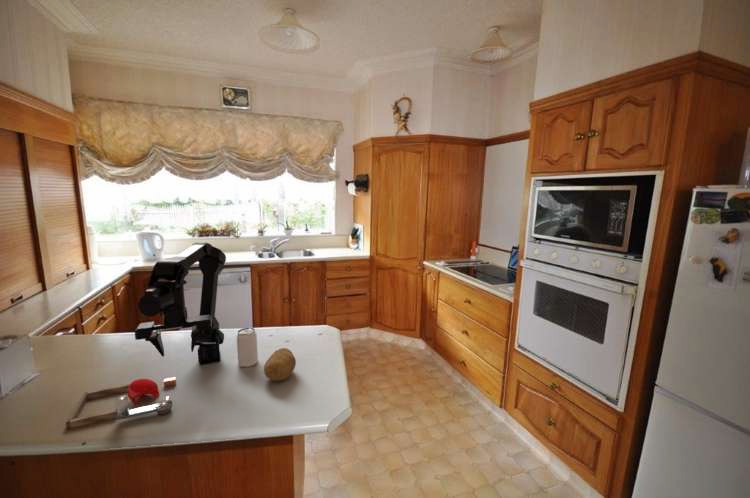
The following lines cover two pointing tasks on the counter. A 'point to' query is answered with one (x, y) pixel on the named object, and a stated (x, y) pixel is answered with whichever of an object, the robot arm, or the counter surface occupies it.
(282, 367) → the potato
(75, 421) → the bay
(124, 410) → the crank
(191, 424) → the counter surface
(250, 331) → the can
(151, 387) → the cap
